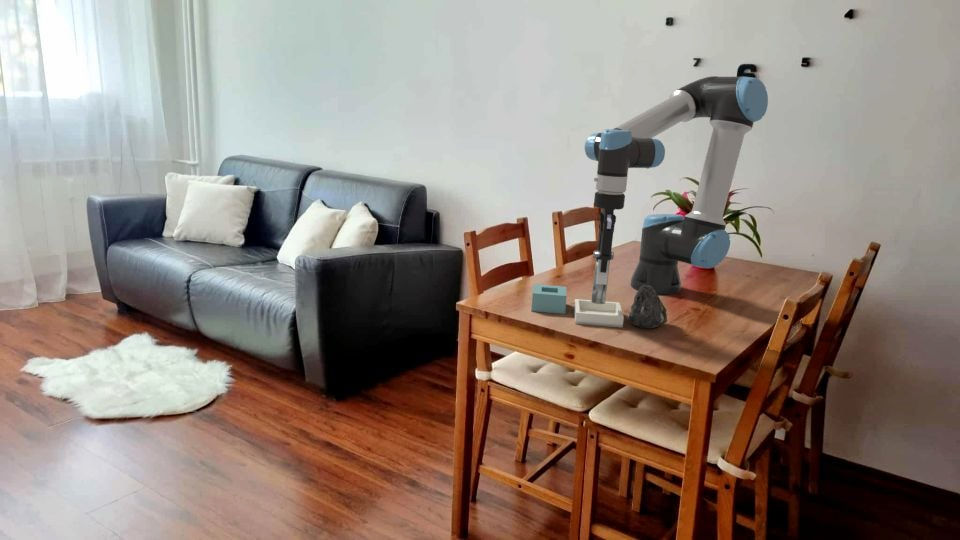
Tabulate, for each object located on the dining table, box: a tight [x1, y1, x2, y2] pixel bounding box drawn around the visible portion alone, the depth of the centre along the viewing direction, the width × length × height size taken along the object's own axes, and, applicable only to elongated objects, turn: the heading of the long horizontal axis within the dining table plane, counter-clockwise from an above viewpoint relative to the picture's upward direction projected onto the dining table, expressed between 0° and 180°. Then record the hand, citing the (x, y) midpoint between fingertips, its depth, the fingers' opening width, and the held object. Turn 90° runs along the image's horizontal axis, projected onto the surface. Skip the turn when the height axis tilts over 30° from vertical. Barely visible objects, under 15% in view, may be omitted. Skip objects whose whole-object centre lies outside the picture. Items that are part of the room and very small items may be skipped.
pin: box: [590, 249, 615, 304], centre depth 175 cm, size 5×5×13 cm
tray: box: [573, 298, 624, 328], centre depth 178 cm, size 12×12×3 cm
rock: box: [626, 285, 668, 329], centre depth 174 cm, size 12×10×10 cm
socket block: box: [531, 283, 567, 315], centre depth 185 cm, size 9×9×5 cm
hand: (600, 280), depth 176 cm, fingers closed on pin, 5 cm apart
